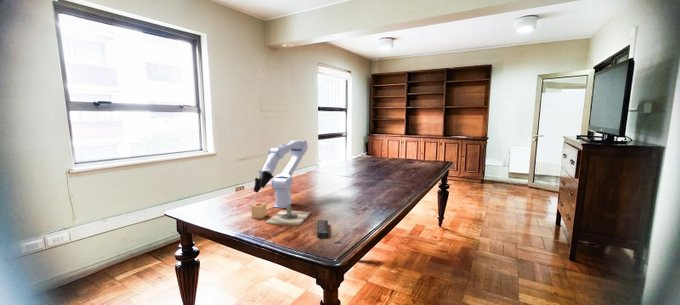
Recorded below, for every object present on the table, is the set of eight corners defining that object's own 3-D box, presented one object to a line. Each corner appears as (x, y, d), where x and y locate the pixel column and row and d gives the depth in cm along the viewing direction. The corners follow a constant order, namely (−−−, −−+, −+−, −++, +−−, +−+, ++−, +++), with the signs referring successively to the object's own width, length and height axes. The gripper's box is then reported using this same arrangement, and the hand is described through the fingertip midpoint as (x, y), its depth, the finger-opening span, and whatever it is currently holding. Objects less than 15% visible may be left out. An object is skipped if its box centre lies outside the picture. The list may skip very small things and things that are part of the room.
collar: (257, 214, 145) (256, 202, 144) (266, 214, 144) (266, 203, 143) (252, 217, 140) (251, 206, 139) (261, 218, 139) (261, 206, 138)
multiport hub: (327, 225, 130) (327, 220, 130) (328, 238, 116) (327, 233, 116) (318, 225, 130) (317, 220, 130) (317, 239, 116) (317, 233, 116)
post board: (281, 212, 148) (280, 200, 147) (310, 214, 144) (310, 202, 143) (266, 223, 132) (265, 210, 132) (298, 226, 129) (298, 213, 128)
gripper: (257, 168, 149) (245, 189, 141) (268, 157, 139) (256, 180, 131) (268, 174, 152) (258, 196, 143) (280, 165, 141) (270, 187, 133)
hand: (258, 189), depth 137 cm, fingers open, 7 cm apart
